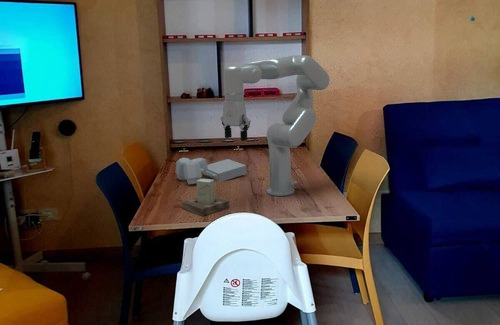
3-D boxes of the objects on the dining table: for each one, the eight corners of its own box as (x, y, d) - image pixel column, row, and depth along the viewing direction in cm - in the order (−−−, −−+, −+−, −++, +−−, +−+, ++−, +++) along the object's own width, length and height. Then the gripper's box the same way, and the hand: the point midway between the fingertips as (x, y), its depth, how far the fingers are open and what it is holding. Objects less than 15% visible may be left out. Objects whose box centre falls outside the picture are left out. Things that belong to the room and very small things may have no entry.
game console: (247, 173, 248) (244, 149, 244) (191, 191, 233) (187, 166, 229) (228, 166, 264) (225, 144, 261) (175, 182, 249) (171, 158, 245)
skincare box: (197, 209, 200) (195, 181, 197) (202, 205, 204) (200, 178, 201) (210, 210, 198) (209, 182, 195) (215, 207, 202) (214, 179, 199)
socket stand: (208, 200, 211) (208, 194, 210) (229, 207, 201) (229, 200, 200) (182, 208, 201) (181, 201, 201) (202, 216, 191) (202, 209, 191)
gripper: (213, 97, 199) (215, 138, 203) (241, 99, 186) (243, 143, 190) (227, 95, 204) (229, 135, 208) (255, 97, 191) (257, 140, 195)
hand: (236, 139), depth 199 cm, fingers open, 9 cm apart
